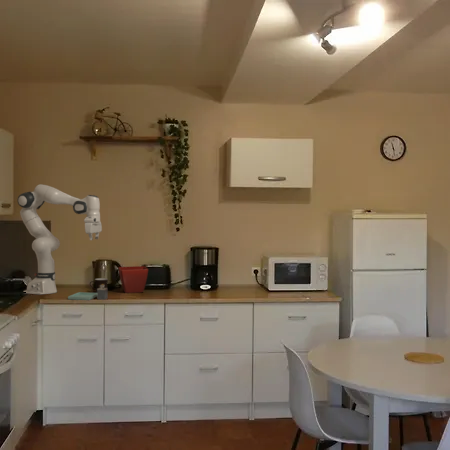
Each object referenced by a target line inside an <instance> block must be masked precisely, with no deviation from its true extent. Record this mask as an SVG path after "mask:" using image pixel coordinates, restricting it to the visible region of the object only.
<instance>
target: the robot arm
mask: <svg viewBox="0 0 450 450" xmlns="http://www.w3.org/2000/svg"><path fill="white" fill-rule="evenodd" d="M16 199H17V204H18V205H19V207H21V209H20V211H19V214H20V218H21V220H22V223H23V224H24V226H25V227H26V229H27V230H28V232H29V234H30V235H31V236H32V237H34V238H35V239H34V240H33V241H32V243H31V248H32V249H31V250H33V251H34V253H35V255H36V259H37V272H36V273H34V276H35V277H34V278H33V279H32V280H30V281H29V282H28V283H27V286H26V289H24V290H23V292H26V293H25V294H31V295H32V294H33V295H47V294H48V295H49V294H56V293H57V292H58V289H57V286H56V272H55V259H54V258H53V256H52V252H54V251H56V250H58V249H59V247H60V245H61V241H60V240H59V238H58V237H56V236H55V235H53V233H52V232H51V231H50V230H49V229H48V228H47V227H46V225H45V224H44V222H43V220H42V219H41V217H40V216H39V215H38V212H37V210H39V209H40V208H41V207H42V206H43V205H45V202H46V203H48V204H53V205H69V206H72V210H73V212H74V213H75V214H76V215H86V217H85V218H84V219H83V222H84V232H85V234H86V235H87V234H88V237H89V241H93V240H94V239H95V240H99V235H100V233H101V232H102V231H103V227H102V226H103V225H102V222H101V212H100V211H101V210H100V208H101V204H100V203H101V202H100V198H99V196H97V195H95V194H93V195H92V194H87V195H86V196H85V197H84V198H79V197H76V196H72V195H70V194H68V193H65V192H63V191H61V190H60V189H58V188H56V187H53V186H50V185H47V184H42V183H41V184H40V183H39V184H38V185H36V186H35V187H34V189H33V191H26V192H23V193H20V194H19V195H18V196H17V198H16ZM93 234H95V236H93ZM94 237H95V238H94Z"/></svg>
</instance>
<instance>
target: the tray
mask: <svg viewBox="0 0 450 450" xmlns="http://www.w3.org/2000/svg"><path fill="white" fill-rule="evenodd" d="M95 298H97V292H85V291H84V292H81V291H79V292H75V293H73V294H71V295H68V296H67V300H71V301H72V300H73V301H74V300H76V301H91V300H94V299H95Z"/></svg>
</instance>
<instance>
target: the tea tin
mask: <svg viewBox="0 0 450 450" xmlns="http://www.w3.org/2000/svg"><path fill="white" fill-rule="evenodd" d="M108 291H109V290H108V287H107V288H98V289H97V291H96V293H97V297H96V298H97V299H96V300H99V301H100V300H101V301H104V300H107V299H108V295H109V294H108V293H109V292H108Z"/></svg>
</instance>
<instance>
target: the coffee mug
mask: <svg viewBox="0 0 450 450" xmlns="http://www.w3.org/2000/svg"><path fill="white" fill-rule="evenodd" d="M108 280H109V278H106V277H105V278H104V277H100V278H95V279H94V280H93V281H90V282H89V286H90V287H91V288H92V289H94V290H96V292H97V289H98V288H108ZM91 283H94V284H95V287H94V286H92V285H91Z"/></svg>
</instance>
